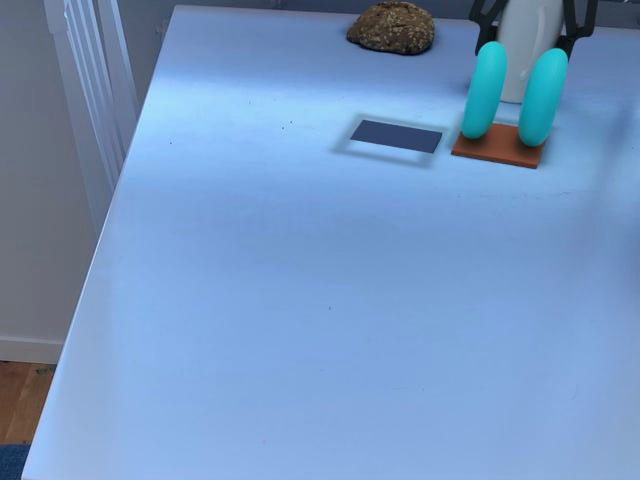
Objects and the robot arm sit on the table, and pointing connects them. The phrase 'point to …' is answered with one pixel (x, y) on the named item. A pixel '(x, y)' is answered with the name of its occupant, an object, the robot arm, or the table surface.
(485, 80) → the cyan capsule pair
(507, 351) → the table surface
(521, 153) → the terracotta mat
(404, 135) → the blue mat
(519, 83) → the mug
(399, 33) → the bread roll
